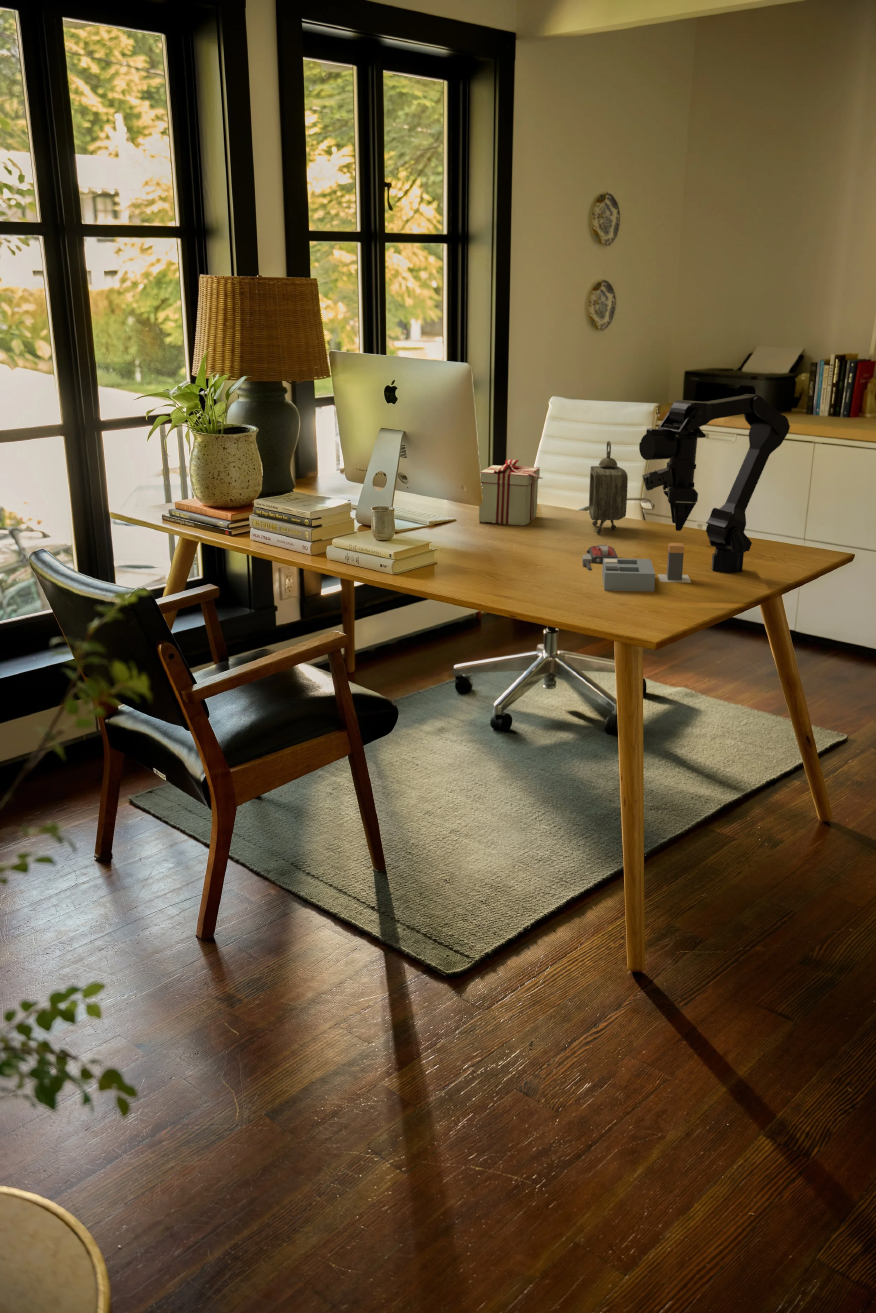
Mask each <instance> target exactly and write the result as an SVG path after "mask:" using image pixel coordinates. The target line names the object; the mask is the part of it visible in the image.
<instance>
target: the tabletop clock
mask: <svg viewBox="0 0 876 1313" xmlns="http://www.w3.org/2000/svg"><path fill="white" fill-rule="evenodd" d="M611 453H612V444H611V441H610V440H608V441H607V442H606V457H604V458H602V459H601V460H599V463H598V465H592V466H590V470H589V471H590V472H589V495H588V497H589V498H588V513H589V517H590V519H591V521H592V523H591V525H592V526H593V527H597V526H598V524H599V526H598V528H596V530H595V533H596V534H597V535H600V534H601V533H602V532H603V531H602V527H603V526H604V523H605V522H607V521H610V524H611V525H610V529H611V531H615V530H616V529H617V525H615V523H614V521H620V520H622V519H623V518H626V515H627V504H628V484H629V483H628V480H629V478H628V472H627V471H626V470H625V469H623V468H621V467H620V466H618V462H617V460H616V459H615V458H612V457H611ZM598 521H600V523H598Z"/></svg>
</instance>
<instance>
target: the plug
mask: <svg viewBox="0 0 876 1313" xmlns="http://www.w3.org/2000/svg"><path fill="white" fill-rule="evenodd" d="M684 551H685V545H684V543H683V542H681V543H680V542H668V549H667V565H666V566H667V567H666V574H667V579H668V580H682V575H683V572H684V571H683V570H684V557H685V556H684V555H685V554H684V553H685V552H684Z"/></svg>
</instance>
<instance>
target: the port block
mask: <svg viewBox="0 0 876 1313" xmlns="http://www.w3.org/2000/svg"><path fill="white" fill-rule="evenodd" d="M601 575H602V582H603V589H604V591H613V592H614V591H616V592H617V591H619V592H621V591H622V592H624V591H625V592H655V585H656V584H655V582H656V571H655V569H654V566H653V562H652V560H651V558H619V557H618V558H603V563H602V574H601Z"/></svg>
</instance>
